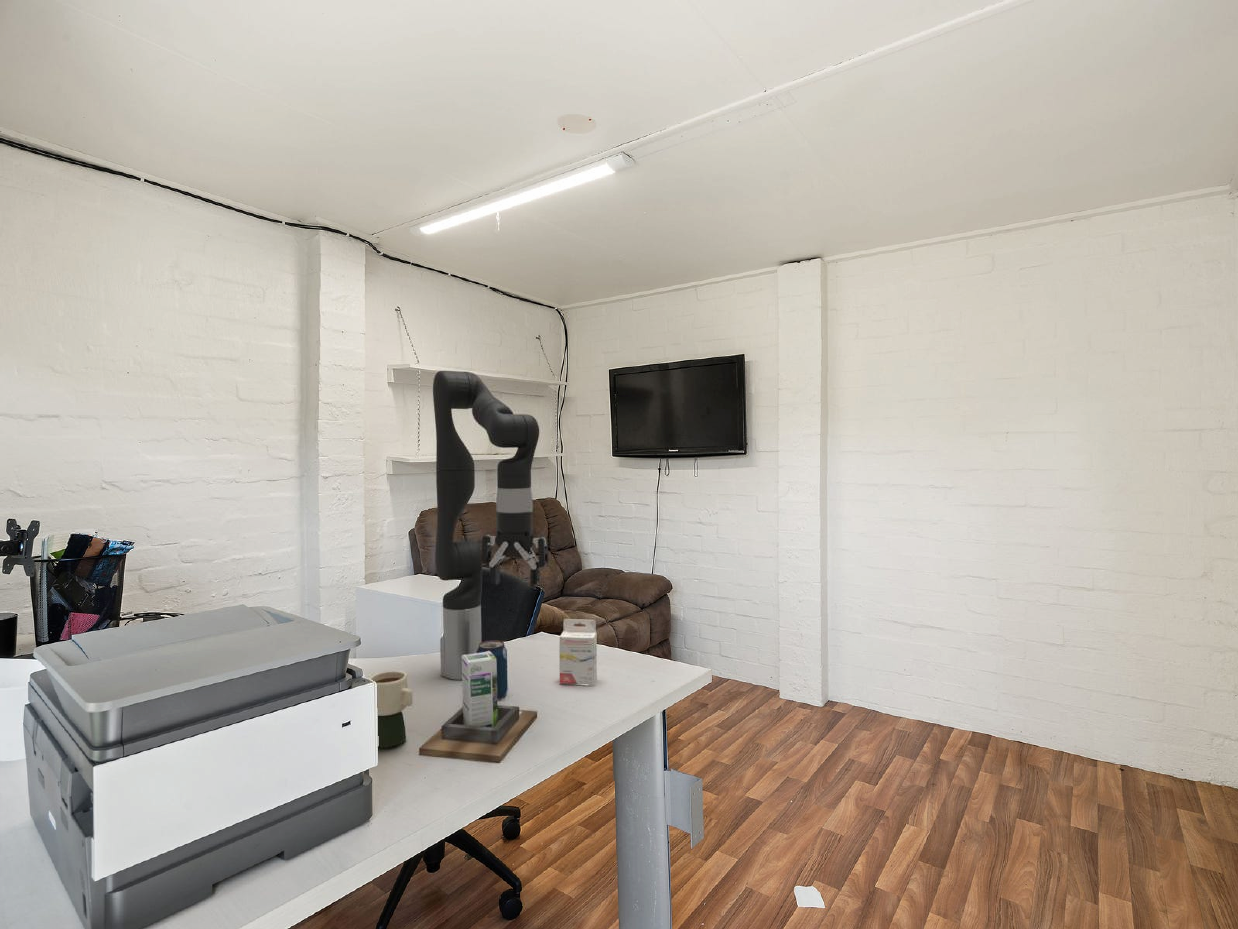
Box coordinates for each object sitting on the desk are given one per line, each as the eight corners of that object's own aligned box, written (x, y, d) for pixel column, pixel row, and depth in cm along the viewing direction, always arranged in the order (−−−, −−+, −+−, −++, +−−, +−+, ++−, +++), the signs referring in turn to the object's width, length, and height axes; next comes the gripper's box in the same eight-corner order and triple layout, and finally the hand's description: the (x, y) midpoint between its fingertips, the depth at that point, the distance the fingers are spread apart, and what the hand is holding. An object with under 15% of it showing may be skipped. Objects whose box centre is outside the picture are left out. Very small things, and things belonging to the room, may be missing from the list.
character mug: (424, 739, 127) (423, 673, 127) (400, 756, 121) (398, 686, 120) (379, 731, 131) (377, 667, 131) (353, 747, 125) (351, 679, 124)
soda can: (513, 692, 151) (512, 640, 151) (497, 703, 145) (497, 650, 144) (487, 688, 154) (486, 638, 153) (470, 699, 147) (469, 646, 147)
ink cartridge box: (559, 685, 155) (558, 624, 155) (562, 678, 160) (562, 618, 160) (594, 686, 154) (594, 624, 154) (597, 678, 159) (596, 619, 159)
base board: (419, 754, 121) (418, 734, 121) (466, 711, 141) (466, 694, 141) (499, 762, 118) (499, 742, 118) (537, 717, 137) (537, 699, 137)
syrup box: (469, 737, 126) (467, 662, 125) (462, 725, 131) (461, 653, 131) (498, 731, 128) (497, 657, 128) (490, 719, 133) (489, 649, 133)
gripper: (475, 510, 136) (476, 587, 137) (539, 512, 132) (540, 591, 133) (490, 506, 143) (491, 579, 144) (552, 508, 140) (552, 583, 140)
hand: (515, 585), depth 139 cm, fingers open, 8 cm apart
